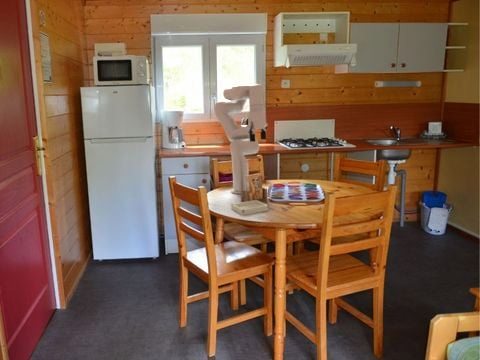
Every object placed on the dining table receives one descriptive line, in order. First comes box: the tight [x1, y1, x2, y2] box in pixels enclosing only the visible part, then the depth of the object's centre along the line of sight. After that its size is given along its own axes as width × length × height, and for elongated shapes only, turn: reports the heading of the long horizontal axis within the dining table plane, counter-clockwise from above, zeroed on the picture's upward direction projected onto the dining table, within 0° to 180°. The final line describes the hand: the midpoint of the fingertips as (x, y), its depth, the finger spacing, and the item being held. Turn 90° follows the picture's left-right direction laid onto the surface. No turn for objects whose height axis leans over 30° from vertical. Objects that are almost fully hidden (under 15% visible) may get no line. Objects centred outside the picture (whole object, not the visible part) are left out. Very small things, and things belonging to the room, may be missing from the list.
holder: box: [240, 186, 268, 203], centre depth 236 cm, size 7×13×7 cm, turn 117°
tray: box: [230, 200, 270, 216], centre depth 223 cm, size 13×15×3 cm
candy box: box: [245, 173, 263, 201], centre depth 236 cm, size 9×4×15 cm, turn 125°
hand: (258, 140), depth 232 cm, fingers open, 9 cm apart
